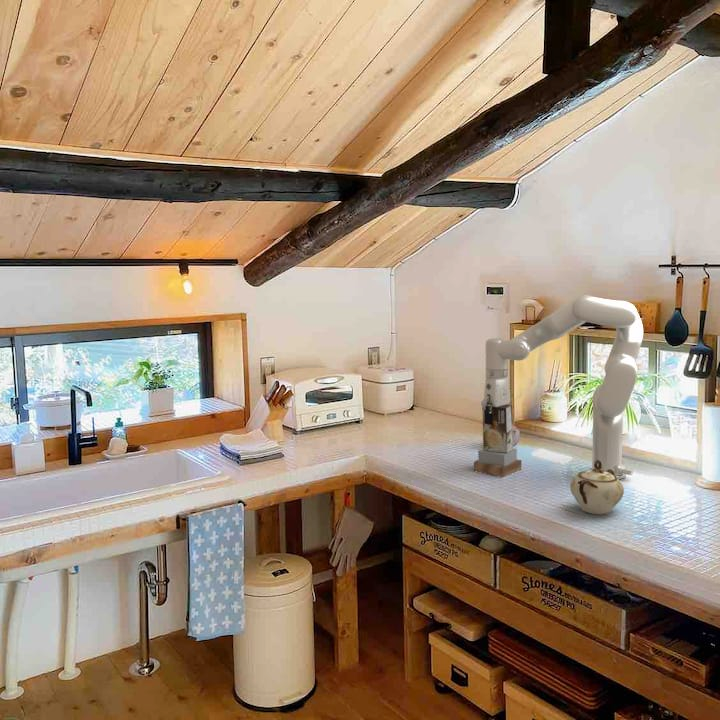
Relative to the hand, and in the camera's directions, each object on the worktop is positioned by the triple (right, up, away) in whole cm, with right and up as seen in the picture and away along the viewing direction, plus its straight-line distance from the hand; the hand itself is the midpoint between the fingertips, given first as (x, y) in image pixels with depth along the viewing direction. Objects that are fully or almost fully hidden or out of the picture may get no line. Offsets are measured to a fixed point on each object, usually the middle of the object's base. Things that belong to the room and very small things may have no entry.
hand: (496, 421), depth 250 cm
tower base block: (+1, -18, +2) cm, 18 cm away
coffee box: (+1, -10, +1) cm, 10 cm away
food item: (+10, -14, +35) cm, 39 cm away
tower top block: (+1, -14, +2) cm, 14 cm away
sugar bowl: (+22, -23, -40) cm, 51 cm away
